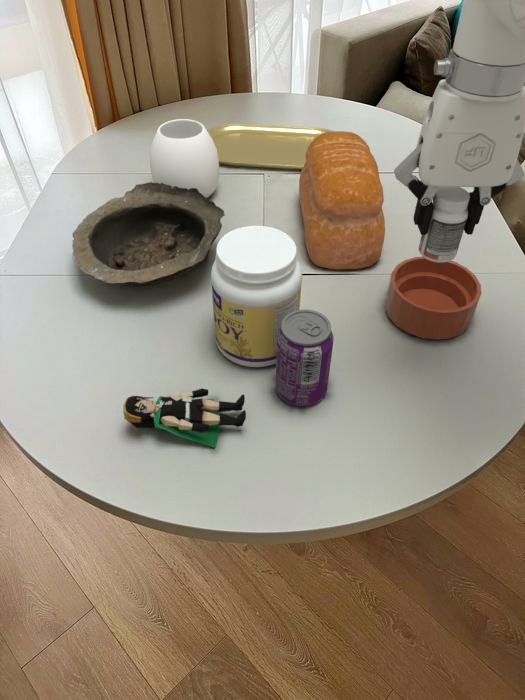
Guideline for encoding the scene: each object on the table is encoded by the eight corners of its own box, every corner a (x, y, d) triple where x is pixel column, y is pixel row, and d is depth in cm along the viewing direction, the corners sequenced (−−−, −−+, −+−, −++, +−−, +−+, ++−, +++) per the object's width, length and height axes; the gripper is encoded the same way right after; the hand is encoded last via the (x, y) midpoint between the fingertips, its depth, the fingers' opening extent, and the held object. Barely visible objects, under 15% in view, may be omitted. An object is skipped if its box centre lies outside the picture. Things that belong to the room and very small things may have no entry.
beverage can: (335, 383, 78) (345, 319, 70) (311, 417, 74) (318, 354, 65) (291, 362, 81) (295, 299, 72) (265, 395, 77) (266, 332, 68)
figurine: (247, 430, 68) (120, 423, 65) (239, 456, 72) (119, 452, 69) (243, 382, 74) (126, 374, 71) (236, 409, 78) (125, 402, 75)
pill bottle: (463, 258, 71) (482, 199, 65) (431, 267, 69) (448, 207, 63) (441, 238, 74) (457, 180, 68) (410, 246, 72) (424, 187, 66)
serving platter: (205, 128, 134) (204, 121, 133) (353, 136, 131) (353, 129, 130) (189, 166, 121) (188, 159, 120) (353, 176, 118) (353, 169, 117)
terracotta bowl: (480, 302, 90) (491, 272, 86) (456, 353, 82) (467, 324, 78) (401, 276, 95) (408, 247, 90) (372, 322, 87) (377, 293, 83)
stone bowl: (242, 232, 103) (240, 189, 96) (195, 330, 88) (189, 288, 81) (118, 210, 107) (107, 167, 100) (53, 300, 92) (35, 257, 85)
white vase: (144, 207, 109) (133, 140, 100) (168, 174, 118) (160, 110, 109) (209, 216, 107) (204, 149, 98) (228, 182, 116) (225, 117, 107)
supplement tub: (198, 341, 84) (188, 248, 72) (256, 302, 90) (255, 210, 78) (257, 385, 78) (257, 291, 66) (314, 340, 84) (323, 247, 72)
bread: (306, 273, 95) (312, 192, 84) (295, 192, 114) (299, 117, 103) (385, 271, 96) (401, 191, 85) (362, 191, 114) (372, 117, 103)
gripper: (408, 87, 53) (379, 246, 66) (587, 87, 53) (522, 246, 66) (394, 59, 58) (369, 212, 71) (557, 58, 59) (502, 211, 72)
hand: (443, 227), depth 69 cm, fingers closed on pill bottle, 4 cm apart
